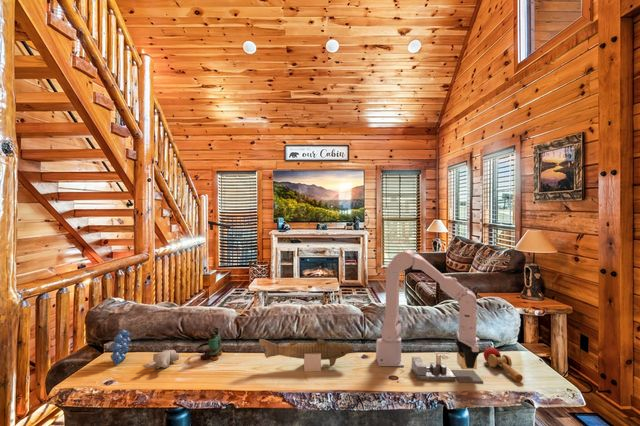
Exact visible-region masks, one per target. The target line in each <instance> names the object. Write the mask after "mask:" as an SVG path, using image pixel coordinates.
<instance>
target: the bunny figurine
mask: <svg viewBox="0 0 640 426" xmlns="http://www.w3.org/2000/svg"><path fill="white" fill-rule="evenodd" d="M152 356H153V360H152V361H150V362H147V363H146V364H145V365H144V369H145V368H151V367H154V368H155V369H160V368H163V369H167V368H168V367H170V365H171V363H174V362H177V361H178V360H180V353H178V352H177V351H176V350H175V349H162V351H161V352H160V351H159V352H156V353H154V354H153V355H152Z"/></svg>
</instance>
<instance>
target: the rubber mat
mask: <svg viewBox="0 0 640 426" xmlns="http://www.w3.org/2000/svg"><path fill="white" fill-rule="evenodd" d="M450 370H451V371H452V373H453V374H454V375H455V377H456V380H457V382H458V383H459V384H460V383H461V384H462V383H464V384H465V383H467V384H470V383H471V384H476V383H477V384H484V381H483V379H482V378H481V377H480V376H479V375H478V374H477V373H476V371H475V369H450Z"/></svg>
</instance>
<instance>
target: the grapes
mask: <svg viewBox="0 0 640 426" xmlns="http://www.w3.org/2000/svg"><path fill="white" fill-rule="evenodd" d="M130 335H131V334H130V332H129V331H128V330H126V329H121V330H119V332H118V333H117V335H115V337H114V338H113V340H114V342H112V343H110V345H109V350H110V351H111V352H112V353H111V355H110V359H111V360H112V361H113V364H114V365H116V366H117V365H120V363H122V362H124V361H125V359H126V358H127V356H126V354H127V353H129V351H130V349H129V346H128V345H129V344H130V343H131V342H132V341H131V338H130Z"/></svg>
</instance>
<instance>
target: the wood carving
mask: <svg viewBox="0 0 640 426" xmlns="http://www.w3.org/2000/svg"><path fill="white" fill-rule="evenodd" d="M316 339H317V341H316V342H312V343H307V342H306V343H297V342H296V341H294V340H291V341H290V343H288V344H280V343H278V344H275V343H273V342H271V341H269V340H268V339H267V340H266V339H262V338H259V340H258V341H259V344H260V347H261V349H262V351H263V354H264V357H265V358H266V359H269V358H270V357H276V356H282V357H288V358H292V359H293V358H295V359H299V360H300V359H302V360H303V368H304V370H303V371H304V372H321V371H322V361H324V360H325V361H326V360H328V361H329V367H333V366H334V365H335V364H336V362H337V359H340V358H343V357H345V356H346V355H348V354H349V353H351V352H352V351H354V346H353V344H350V343H344V342H326V341H325V339H324V338H322V337H317V338H316ZM263 346H264V347H265V350H264V348H263Z"/></svg>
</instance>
